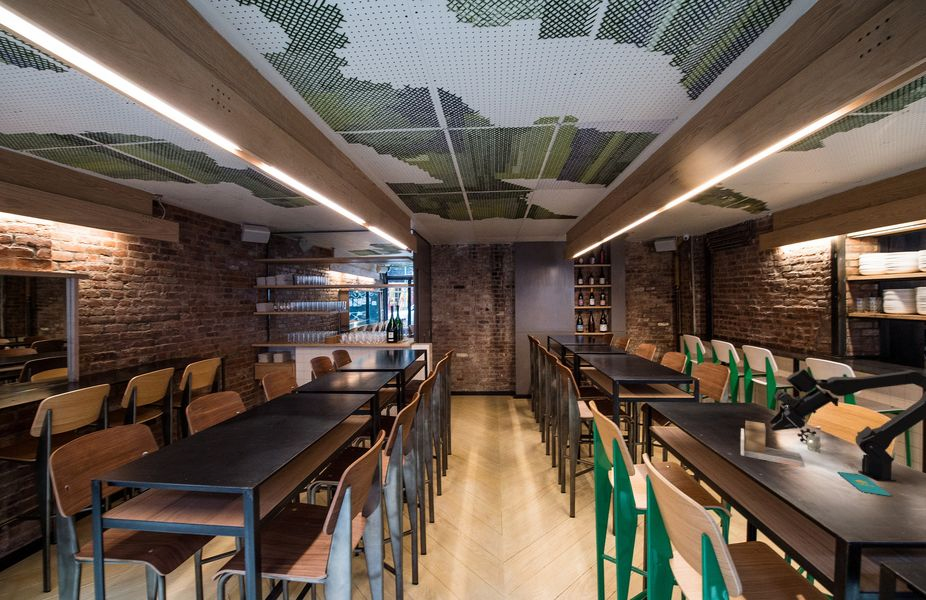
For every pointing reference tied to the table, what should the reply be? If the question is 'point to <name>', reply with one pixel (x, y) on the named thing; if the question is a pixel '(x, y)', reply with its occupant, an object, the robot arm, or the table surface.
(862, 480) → the smartphone
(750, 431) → the tan wooden block
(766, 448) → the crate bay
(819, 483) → the table surface
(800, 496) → the table surface
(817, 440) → the valve
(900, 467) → the table surface
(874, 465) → the robot arm
